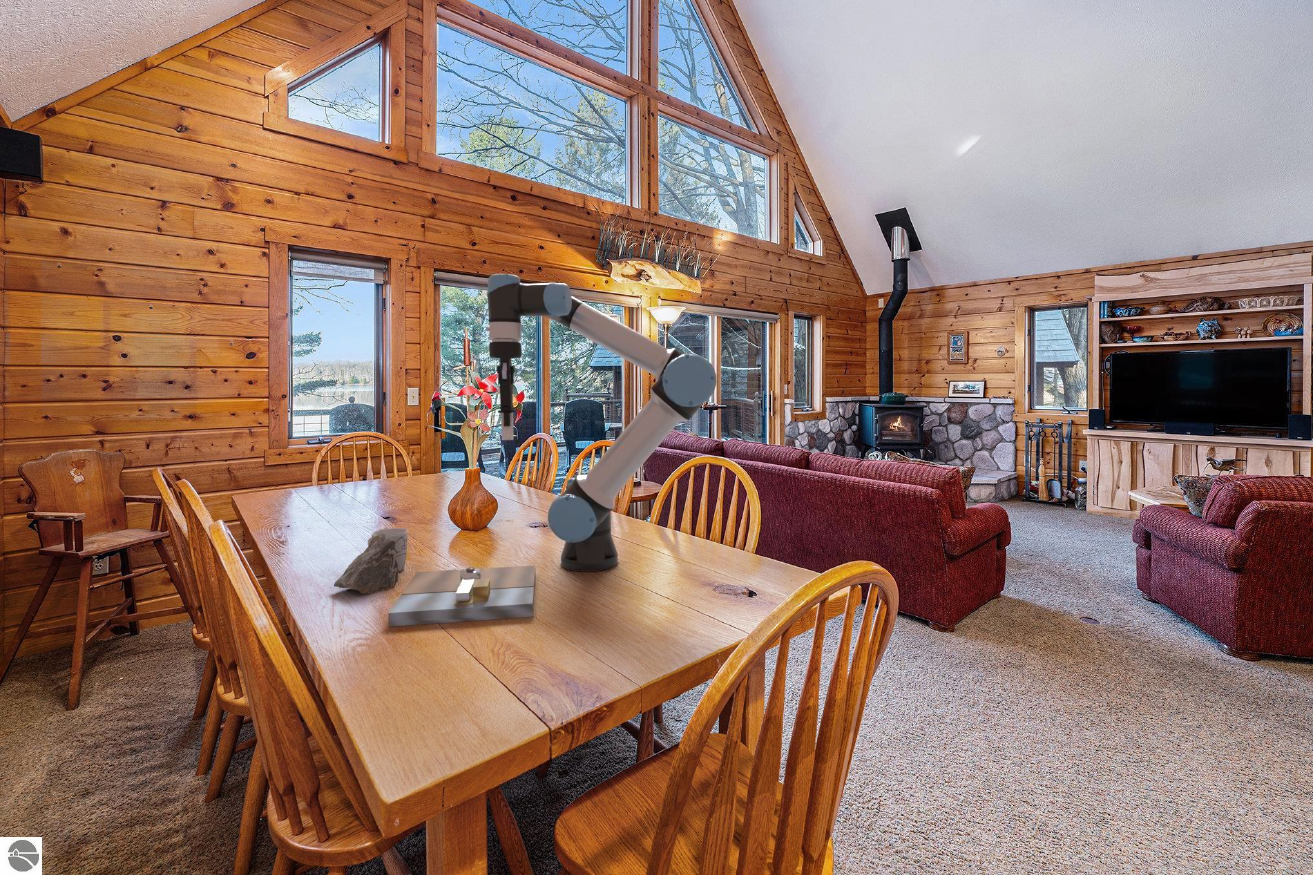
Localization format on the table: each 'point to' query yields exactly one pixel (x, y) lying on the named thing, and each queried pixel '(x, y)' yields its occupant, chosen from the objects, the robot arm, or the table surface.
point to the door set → (491, 599)
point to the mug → (396, 543)
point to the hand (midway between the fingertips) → (507, 439)
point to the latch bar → (467, 583)
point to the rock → (372, 568)
